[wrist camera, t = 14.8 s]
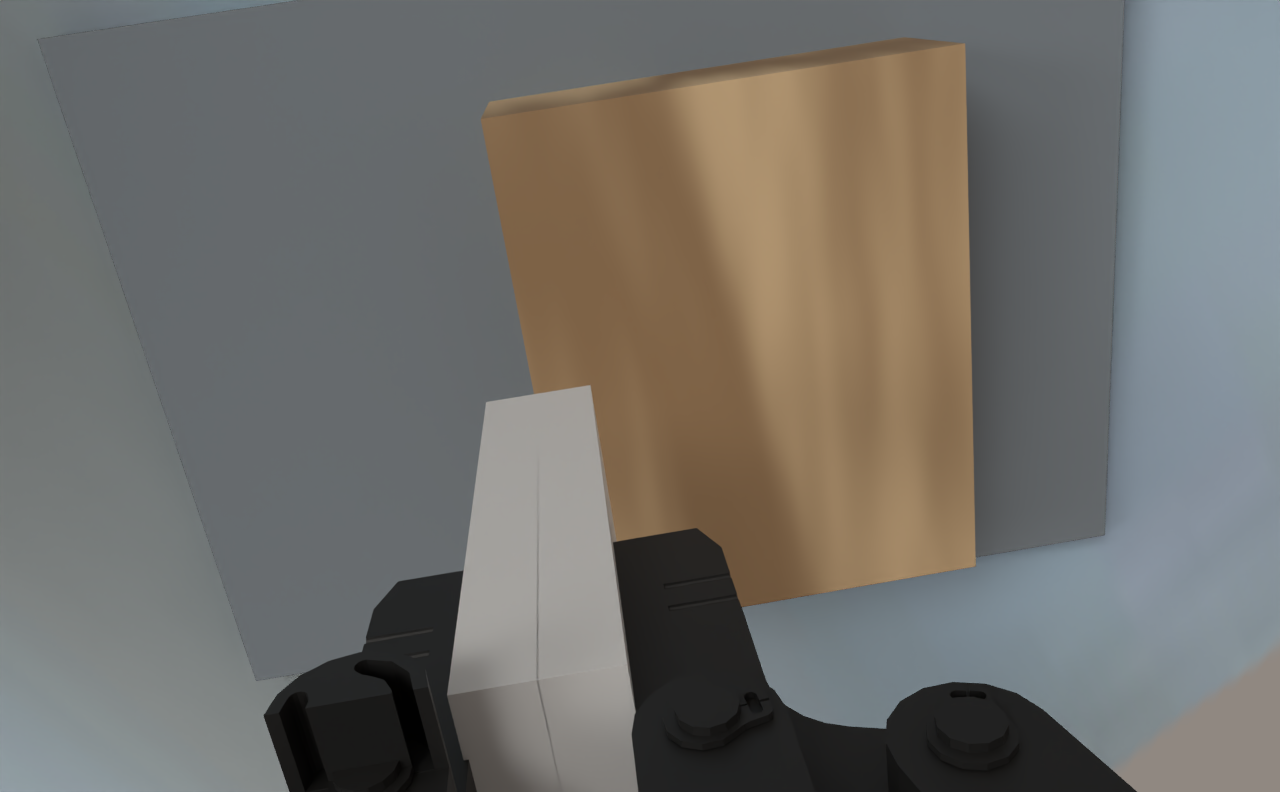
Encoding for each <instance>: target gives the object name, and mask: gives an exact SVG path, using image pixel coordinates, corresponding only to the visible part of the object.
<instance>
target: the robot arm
mask: <svg viewBox="0 0 1280 792" xmlns="http://www.w3.org/2000/svg"><path fill="white" fill-rule="evenodd" d="M264 718H265V721H266V724H267V727H268V730H269V733H270V736H271V739H272V742H273V745H274V748H275V751H276V753H277V756H278V759H279V762H280V765H281V768H282V771H283V774H284V777H285V780H286V783H287V786H288V789H289V791H290V792H1137V791H1135V790H1134V789H1133V788H1132V787H1131V786H1130V785H1129V784H1127V783H1126V782H1125V781H1124V780H1123V779H1122V778H1121V777H1119V776H1118V775H1117V774H1116V773H1115V772H1114V771H1113V770H1111V769H1110V768H1109V767H1108V766H1107V765H1106V764H1105V763H1103V762H1102V761H1101V760H1100V759H1099V758H1098V757H1097V756H1095V755H1094V754H1093V753H1092V752H1091V751H1090V750H1089V749H1087V748H1086V747H1085V746H1084V745H1083V744H1082V743H1080V742H1079V741H1078V740H1077V739H1076V738H1075V737H1074V736H1072V735H1071V734H1070V733H1069V732H1068V731H1067V730H1066V729H1064V728H1063V727H1062V726H1061V725H1060V724H1059V723H1058V722H1056V721H1055V720H1054V719H1053V718H1052V717H1051V716H1050V715H1048V714H1047V713H1046V712H1045V711H1044V710H1043V709H1041V708H1039V707H1038V706H1036V705H1035V704H1033V703H1031V702H1030V701H1028V700H1027V699H1025V698H1023V697H1022V696H1020V695H1019V694H1017V693H1014V692H1011V691H1008V690H1004V689H1001V688H998V687H994V686H991V685H988V684H979V683H959V682H951V683H946V684H941V685H937V686H932V687H927V688H923V689H921V690H919V691H918V692H916V693H914V694H912V695H911V696H909V697H907V698H905V699H903V700H902V701H900V702H899V704H898V705H897V707H896V708H895V709H894V711H893V712H892V714H891V715H890V716H889V718H888V719H887V728H886V729H879V728H863V727H848V726H842V725H835V724H828V723H823V722H820V721H817V720H814V719H811V718H808V717H805V716H803V715H801V714H799V713H798V712H796V711H794V710H792V709H791V708H789V707H787V706H786V705H785V704H784V703H783V702H782V701H781V699H780V698H779V696H778V695H777V693H776V692H775V690H773V689H772V688H770V687H769V685H768V683H767V681H766V679H765V676H764V673H763V670H762V667H761V664H760V661H759V658H758V655H757V652H756V649H755V646H754V643H753V640H752V637H751V634H750V631H749V628H748V625H747V622H746V619H745V616H744V613H743V610H742V607H741V604H740V601H739V600H738V597H737V592H736V589H735V586H734V583H733V580H732V578H731V576H730V571H729V568H728V565H727V562H726V559H725V556H724V553H723V550H722V547H721V546H719V545H718V544H717V543H716V542H714V541H713V540H712V539H710V538H709V537H708V536H707V535H705V534H704V533H703V532H701V531H700V530H699V529H697V528H693V529H687V530H681V531H675V532H669V533H663V534H658V535H652V536H646V537H640V538H634V539H628V540H622V541H617V540H616V534H615V528H614V522H613V516H612V511H611V505H610V499H609V493H608V487H607V481H606V475H605V469H604V463H603V457H602V451H601V445H600V439H599V433H598V427H597V421H596V415H595V409H594V404H593V398H592V392H591V386H590V385H588V386H582V387H575V388H569V389H563V390H557V391H551V392H545V393H539V394H532V395H526V396H520V397H514V398H508V399H502V400H496V401H489V402H486V407H485V414H484V422H483V429H482V437H481V444H480V452H479V459H478V467H477V474H476V482H475V489H474V497H473V504H472V512H471V519H470V527H469V534H468V542H467V550H466V557H465V565H464V570H463V571H457V572H451V573H445V574H439V575H433V576H427V577H421V578H415V579H409V580H403V581H398V582H397V583H396V584H395V585H394V587H393V588H392V589H391V590H390V591H389V592H388V593H387V595H386V596H385V597H384V598H383V599H382V600H381V601H380V602H379V604H378V605H377V606H376V607H375V608H374V609H373V613H372V617H371V620H370V624H369V628H368V631H367V635H366V644H364V646H363V650H362V652H358V653H355V654H351V655H348V656H344V657H341V658H337V659H334V660H330V661H328V662H326V663H324V664H322V665H320V666H318V667H316V668H314V669H312V670H310V671H308V672H306V673H304V674H302V675H300V676H299V677H298V678H297V679H295V680H294V681H293V682H292V683H291V684H289V685H288V686H287V687H286V688H285V689H283V690H282V691H281V692H280V693H279V694H277V696H276V697H275V699H274V700H273V702H272V703H271V705H270V707H269V708H268V710H267V711H266V713H265V714H264Z"/></svg>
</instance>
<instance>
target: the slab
mask: <svg viewBox="0 0 1280 792" xmlns="http://www.w3.org/2000/svg"><path fill="white" fill-rule="evenodd" d="M481 123H482V129H483V134H484V139H485V144H486V149H487V154H488V160H489V165H490V170H491V175H492V180H493V185H494V190H495V196H496V201H497V206H498V211H499V216H500V221H501V226H502V232H503V237H504V242H505V247H506V252H507V257H508V262H509V268H510V273H511V278H512V283H513V288H514V293H515V299H516V304H517V309H518V314H519V319H520V324H521V329H522V335H523V340H524V345H525V350H526V355H527V360H528V365H529V371H530V376H531V381H532V386H533V391H534V394H539V393H545V392H551V391H557V390H563V389H569V388H575V387H582V386H588V385H590V386H591V392H592V398H593V404H594V409H595V415H596V421H597V427H598V433H599V439H600V445H601V451H602V457H603V463H604V469H605V475H606V481H607V487H608V493H609V499H610V505H611V511H612V516H613V522H614V528H615V534H616V540H617V541H622V540H628V539H634V538H640V537H646V536H652V535H658V534H663V533H669V532H675V531H681V530H687V529H693V528H697V529H699V530H700V531H701V532H703V533H704V534H705V535H707V536H708V537H709V538H710V539H712V540H713V541H714V542H716V543H717V544H718V545H719V546H721V547H722V550H723V553H724V556H725V559H726V562H727V565H728V568H729V571H730V576H731V578H732V580H733V583H734V586H735V589H736V592H737V597H738V600H739V601H740V604H741V607H745V606H751V605H757V604H762V603H768V602H774V601H780V600H785V599H791V598H797V597H803V596H808V595H814V594H820V593H826V592H831V591H837V590H843V589H849V588H854V587H860V586H866V585H872V584H877V583H883V582H889V581H895V580H900V579H906V578H912V577H918V576H923V575H929V574H935V573H941V572H946V571H952V570H958V569H964V568H969V567H975V566H976V555H975V506H974V456H973V406H972V356H971V306H970V256H969V207H968V157H967V107H966V57H965V43H956V42H946V41H936V40H926V39H916V38H907V37H902V38H896V39H890V40H883V41H877V42H870V43H864V44H857V45H851V46H845V47H838V48H832V49H825V50H819V51H812V52H806V53H800V54H793V55H787V56H780V57H774V58H767V59H761V60H755V61H748V62H742V63H735V64H729V65H722V66H716V67H709V68H703V69H697V70H690V71H684V72H677V73H671V74H664V75H658V76H652V77H645V78H639V79H632V80H626V81H619V82H613V83H607V84H600V85H594V86H587V87H581V88H574V89H568V90H562V91H555V92H549V93H542V94H536V95H529V96H523V97H517V98H510V99H504V100H497V101H491V102H489V103H488V105H487V107H486V109H485V111H484V113H483V115H482V117H481Z"/></svg>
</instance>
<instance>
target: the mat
mask: <svg viewBox="0 0 1280 792" xmlns="http://www.w3.org/2000/svg"><path fill="white" fill-rule="evenodd" d="M1123 24H1124V0H297V1H290V2H284V3H277V4H270V5H264V6H257V7H250V8H243V9H237V10H230V11H223V12H216V13H210V14H203V15H196V16H190V17H183V18H176V19H169V20H163V21H156V22H149V23H142V24H136V25H129V26H122V27H116V28H109V29H102V30H95V31H89V32H82V33H75V34H68V35H62V36H55V37H48V38H41V39H37V40H38V43H39V46H40V49H41V52H42V55H43V57H44V60H45V63H46V66H47V69H48V72H49V75H50V78H51V81H52V84H53V87H54V90H55V93H56V96H57V99H58V101H59V104H60V107H61V110H62V113H63V116H64V119H65V122H66V125H67V128H68V131H69V134H70V137H71V140H72V142H73V145H74V148H75V151H76V154H77V157H78V160H79V163H80V166H81V169H82V172H83V175H84V178H85V181H86V184H87V186H88V189H89V192H90V195H91V198H92V201H93V204H94V207H95V210H96V213H97V216H98V219H99V222H100V225H101V227H102V230H103V233H104V236H105V239H106V242H107V245H108V248H109V251H110V254H111V257H112V260H113V263H114V266H115V269H116V271H117V274H118V277H119V280H120V283H121V286H122V289H123V292H124V295H125V298H126V301H127V304H128V307H129V310H130V313H131V315H132V318H133V321H134V324H135V327H136V330H137V333H138V336H139V339H140V342H141V345H142V348H143V351H144V354H145V356H146V359H147V362H148V365H149V368H150V371H151V374H152V377H153V380H154V383H155V386H156V389H157V392H158V395H159V398H160V400H161V403H162V406H163V409H164V412H165V415H166V418H167V421H168V424H169V427H170V430H171V433H172V436H173V439H174V441H175V444H176V447H177V450H178V453H179V456H180V459H181V462H182V465H183V468H184V471H185V474H186V477H187V480H188V483H189V485H190V488H191V491H192V494H193V497H194V500H195V503H196V506H197V509H198V512H199V515H200V518H201V521H202V524H203V527H204V529H205V532H206V535H207V538H208V541H209V544H210V547H211V550H212V553H213V556H214V559H215V562H216V565H217V568H218V570H219V573H220V576H221V579H222V582H223V585H224V588H225V591H226V594H227V597H228V600H229V603H230V606H231V609H232V612H233V614H234V617H235V620H236V623H237V626H238V629H239V632H240V635H241V638H242V641H243V644H244V647H245V650H246V653H247V655H248V658H249V661H250V664H251V667H252V670H253V673H254V676H255V679H256V681H259V680H265V679H271V678H276V677H282V676H288V675H294V674H300V673H306V672H308V671H310V670H312V669H314V668H316V667H318V666H320V665H322V664H324V663H326V662H328V661H330V660H334V659H337V658H341V657H344V656H348V655H351V654H355V653H358V652H362V650H363V646H364V644H366V635H367V631H368V628H369V624H370V620H371V617H372V613H373V609H374V608H375V607H376V606H377V605H378V604H379V602H380V601H381V600H382V599H383V598H384V597H385V596H386V595H387V593H388V592H389V591H390V590H391V589H392V588H393V587H394V585H395V584H396V583H397V582H398V581H403V580H409V579H415V578H421V577H427V576H433V575H439V574H445V573H451V572H457V571H463V570H464V565H465V557H466V550H467V542H468V534H469V527H470V519H471V512H472V504H473V497H474V489H475V482H476V474H477V467H478V459H479V452H480V444H481V437H482V429H483V422H484V414H485V407H486V402H489V401H496V400H502V399H508V398H514V397H520V396H526V395H532V394H534V391H533V386H532V381H531V376H530V371H529V365H528V360H527V355H526V350H525V345H524V340H523V335H522V329H521V324H520V319H519V314H518V309H517V304H516V299H515V293H514V288H513V283H512V278H511V273H510V268H509V262H508V257H507V252H506V247H505V242H504V237H503V232H502V226H501V221H500V216H499V211H498V206H497V201H496V196H495V190H494V185H493V180H492V175H491V170H490V165H489V160H488V154H487V149H486V144H485V139H484V134H483V129H482V123H481V117H482V115H483V113H484V111H485V109H486V107H487V105H488V103H489V102H491V101H497V100H504V99H510V98H517V97H523V96H529V95H536V94H542V93H549V92H555V91H562V90H568V89H574V88H581V87H587V86H594V85H600V84H607V83H613V82H619V81H626V80H632V79H639V78H645V77H652V76H658V75H664V74H671V73H677V72H684V71H690V70H697V69H703V68H709V67H716V66H722V65H729V64H735V63H742V62H748V61H755V60H761V59H767V58H774V57H780V56H787V55H793V54H800V53H806V52H812V51H819V50H825V49H832V48H838V47H845V46H851V45H857V44H864V43H870V42H877V41H883V40H890V39H896V38H902V37H907V38H916V39H926V40H936V41H946V42H956V43H965V57H966V107H967V157H968V207H969V256H970V306H971V356H972V406H973V456H974V506H975V555H976V557H981V556H987V555H992V554H998V553H1004V552H1010V551H1016V550H1021V549H1027V548H1033V547H1039V546H1045V545H1051V544H1056V543H1062V542H1068V541H1074V540H1080V539H1085V538H1091V537H1097V536H1103V535H1105V512H1106V484H1107V457H1108V430H1109V403H1110V376H1111V349H1112V322H1113V295H1114V268H1115V241H1116V214H1117V186H1118V159H1119V132H1120V105H1121V78H1122V51H1123Z"/></svg>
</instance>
